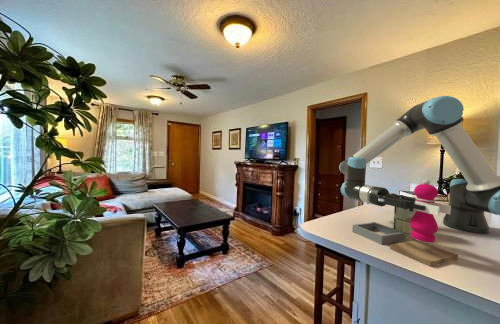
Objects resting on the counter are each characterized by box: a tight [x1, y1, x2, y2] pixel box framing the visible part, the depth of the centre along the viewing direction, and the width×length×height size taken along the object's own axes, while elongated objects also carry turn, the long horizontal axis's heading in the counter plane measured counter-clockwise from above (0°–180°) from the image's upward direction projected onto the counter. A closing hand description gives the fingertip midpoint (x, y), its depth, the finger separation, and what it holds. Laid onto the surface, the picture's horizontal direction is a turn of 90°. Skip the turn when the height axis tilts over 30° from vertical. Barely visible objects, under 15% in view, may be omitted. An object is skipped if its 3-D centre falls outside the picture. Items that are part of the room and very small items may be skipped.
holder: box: [351, 221, 406, 245], centre depth 83 cm, size 13×13×3 cm
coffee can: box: [392, 206, 416, 237], centre depth 88 cm, size 10×10×14 cm
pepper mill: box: [410, 178, 439, 244], centre depth 68 cm, size 7×7×20 cm
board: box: [389, 239, 459, 268], centre depth 69 cm, size 14×12×2 cm
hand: (444, 210), depth 63 cm, fingers closed on pepper mill, 5 cm apart
